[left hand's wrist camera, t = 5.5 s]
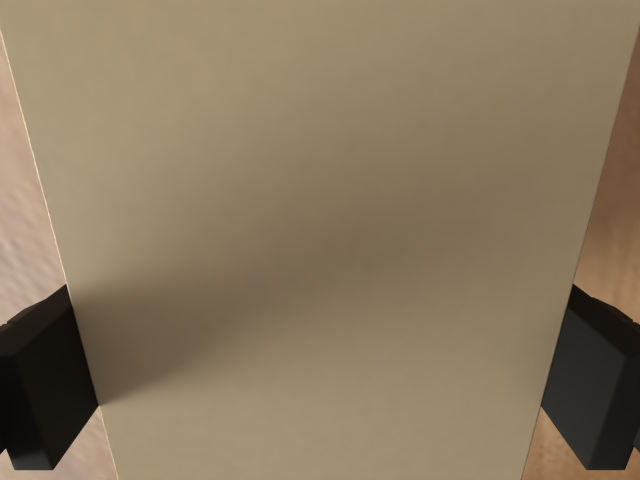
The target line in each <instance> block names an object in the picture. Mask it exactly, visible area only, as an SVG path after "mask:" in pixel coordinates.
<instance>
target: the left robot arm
mask: <svg viewBox="0 0 640 480" xmlns="http://www.w3.org/2000/svg"><path fill="white" fill-rule="evenodd" d="M97 407H98V402H97V398H96V395H95V391H94V387H93V383H92V379H91V375H90V372H89V368H88V364H87V360H86V356H85V353H84V349H83V345H82V341H81V337H80V334H79V330H78V326H77V322H76V318H75V315H74V311H73V307H72V303H71V299H70V296H69V292H68V288H67V284H65V285H64V286H63V287H61V288H60V289H59V290H57V291H56V292H55V293H53V294H52V295H51V296H49V297H48V298H47V299H45V300H43V301H41V302H38V303H36V304H34V305H32V306H30V307H28V308H26V309H24V310H22V311H21V312H20V313H18V314H17V315H15V316H14V317H13V318H11V319H10V320H9V321H7V324H3V325H2V326H0V454H1V453H2V452H3V451H4V450H5V448H6V449H7V452H8V454H9V457H10V460H11V462H12V465H13V467H14V470H53V469H54V468H55V467H56V465H57V464H58V462H59V461H60V460H61V458H62V457H63V455H64V454H65V453H66V451H67V450H68V448H69V447H70V446H71V444H72V443H73V441H74V440H75V438H76V437H77V436H78V434H79V433H80V431H81V430H82V429H83V427H84V426H85V424H86V423H87V422H88V420H89V419H90V417H91V416H92V415H93V413H94V412H95V410H96V409H97ZM541 407H542V408H543V409H544V411H545V412H546V414H547V415H548V417H549V418H550V419H551V421H552V422H553V424H554V425H555V426H556V428H557V429H558V431H559V432H560V433H561V435H562V436H563V438H564V439H565V440H566V442H567V443H568V445H569V446H570V448H571V449H572V450H573V452H574V453H575V455H576V456H577V457H578V459H579V460H580V462H581V463H582V464H583V466H584V467H585V469H586V470H625V468H626V466H627V463H628V461H629V458H630V455H631V453H632V450H633V448H634V447H635V448H636V449H637V450H638V451H639V452H640V325H639V324H638V323H636V322H633V320H632V319H631V318H629V317H628V316H627V315H625V314H624V313H623V312H621V311H620V310H618V309H617V308H615V307H613V306H611V305H609V304H607V303H605V302H602V301H600V300H598V299H596V298H594V297H590V296H589V295H588V294H586V293H585V292H584V291H582V290H581V289H580V288H578V287H577V286H576V285H574V284H573V285H572V289H571V293H570V297H569V300H568V304H567V308H566V312H565V316H564V319H563V323H562V327H561V331H560V335H559V339H558V342H557V346H556V350H555V354H554V358H553V361H552V365H551V369H550V373H549V377H548V381H547V384H546V388H545V392H544V396H543V400H542V403H541Z"/></svg>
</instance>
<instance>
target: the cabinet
mask: <svg viewBox="0 0 640 480" xmlns="http://www.w3.org/2000/svg"><path fill="white" fill-rule="evenodd" d="M639 29H640V0H0V33H1V37H2V41H3V44H4V48H5V52H6V56H7V60H8V63H9V67H10V71H11V75H12V79H13V82H14V86H15V90H16V94H17V98H18V101H19V105H20V109H21V113H22V117H23V120H24V124H25V128H26V132H27V136H28V140H29V143H30V147H31V151H32V155H33V159H34V162H35V166H36V170H37V174H38V178H39V181H40V185H41V189H42V193H43V197H44V200H45V204H46V208H47V212H48V216H49V219H50V223H51V227H52V231H53V235H54V238H55V242H56V246H57V250H58V254H59V258H60V261H61V265H62V269H63V273H64V277H65V280H66V284H67V288H68V292H69V296H70V299H71V303H72V307H73V311H74V315H75V318H76V322H77V326H78V330H79V334H80V337H81V341H82V345H83V349H84V353H85V356H86V360H87V364H88V368H89V372H90V375H91V379H92V383H93V387H94V391H95V395H96V398H97V402H98V406H99V410H100V414H101V417H102V421H103V425H104V429H105V433H106V436H107V440H108V444H109V448H110V452H111V455H112V459H113V463H114V467H115V471H116V474H117V478H118V480H522V476H523V472H524V468H525V465H526V461H527V457H528V453H529V449H530V445H531V442H532V438H533V434H534V430H535V426H536V423H537V419H538V415H539V411H540V407H541V403H542V400H543V396H544V392H545V388H546V384H547V381H548V377H549V373H550V369H551V365H552V361H553V358H554V354H555V350H556V346H557V342H558V339H559V335H560V331H561V327H562V323H563V319H564V316H565V312H566V308H567V304H568V300H569V297H570V293H571V289H572V285H573V281H574V277H575V274H576V270H577V266H578V262H579V258H580V255H581V251H582V247H583V243H584V239H585V235H586V232H587V228H588V224H589V220H590V216H591V213H592V209H593V205H594V201H595V197H596V193H597V190H598V186H599V182H600V178H601V174H602V171H603V167H604V163H605V159H606V155H607V151H608V148H609V144H610V140H611V136H612V132H613V129H614V125H615V121H616V117H617V113H618V109H619V106H620V102H621V98H622V94H623V90H624V87H625V83H626V79H627V75H628V71H629V67H630V64H631V60H632V56H633V52H634V48H635V45H636V41H637V37H638V33H639Z"/></svg>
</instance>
